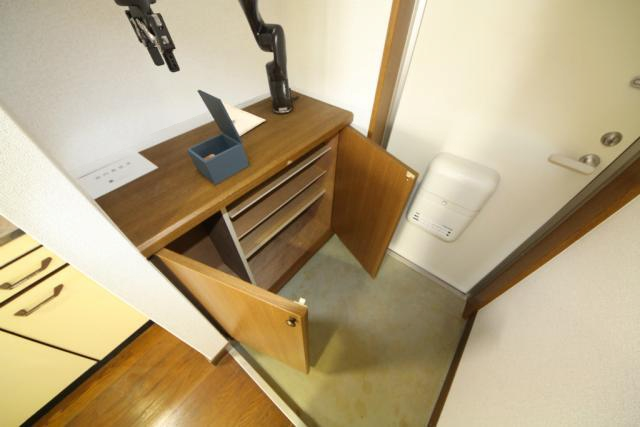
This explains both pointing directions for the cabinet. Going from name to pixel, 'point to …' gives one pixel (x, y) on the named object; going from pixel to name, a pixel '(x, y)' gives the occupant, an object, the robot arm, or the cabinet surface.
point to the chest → (219, 157)
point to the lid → (220, 115)
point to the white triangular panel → (242, 119)
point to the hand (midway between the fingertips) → (167, 68)
